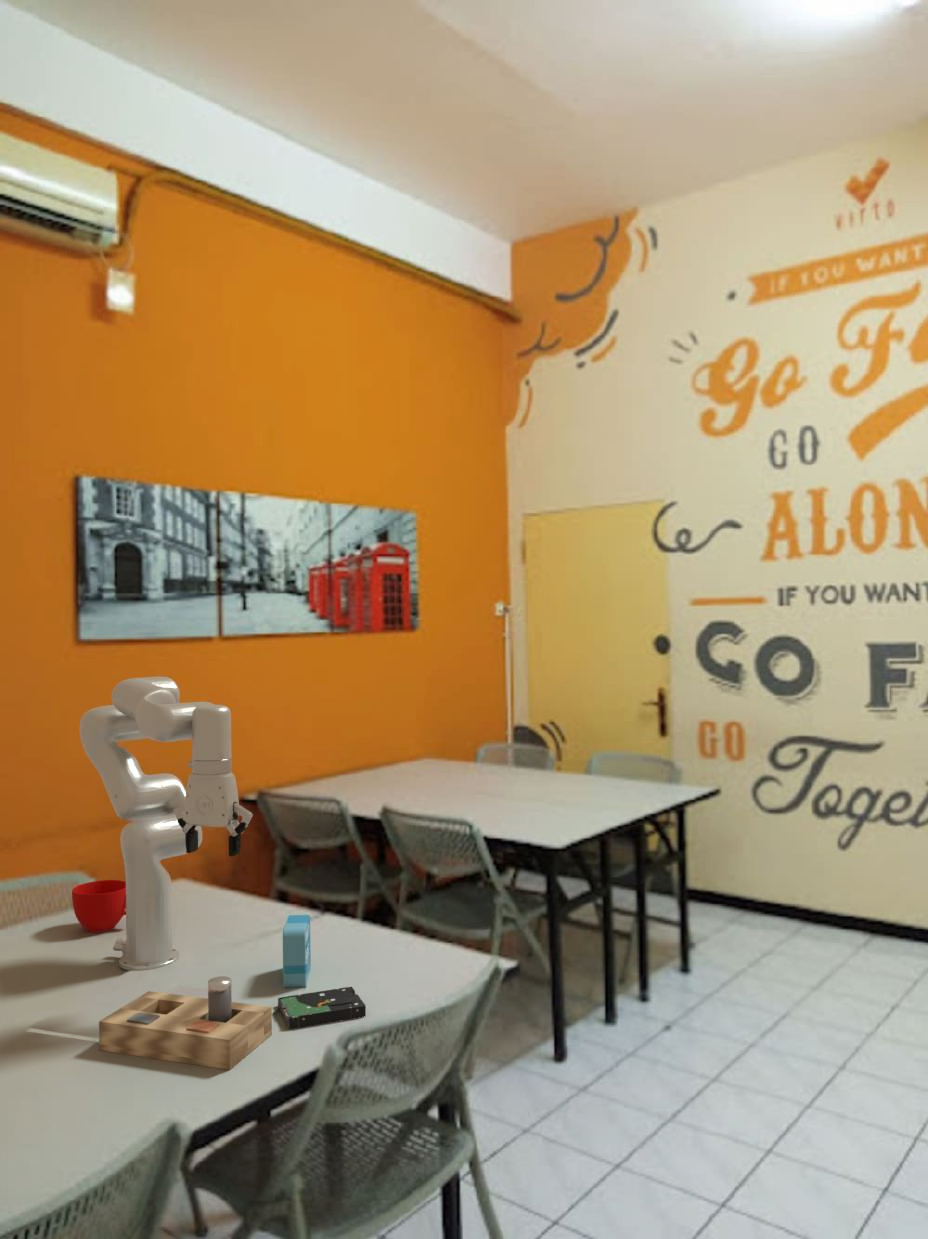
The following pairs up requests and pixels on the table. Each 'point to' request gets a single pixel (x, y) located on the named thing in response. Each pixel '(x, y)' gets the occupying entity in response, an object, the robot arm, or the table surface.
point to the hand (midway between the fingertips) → (213, 853)
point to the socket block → (184, 1030)
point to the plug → (219, 999)
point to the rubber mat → (190, 991)
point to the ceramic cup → (99, 904)
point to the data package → (296, 951)
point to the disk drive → (320, 1007)
